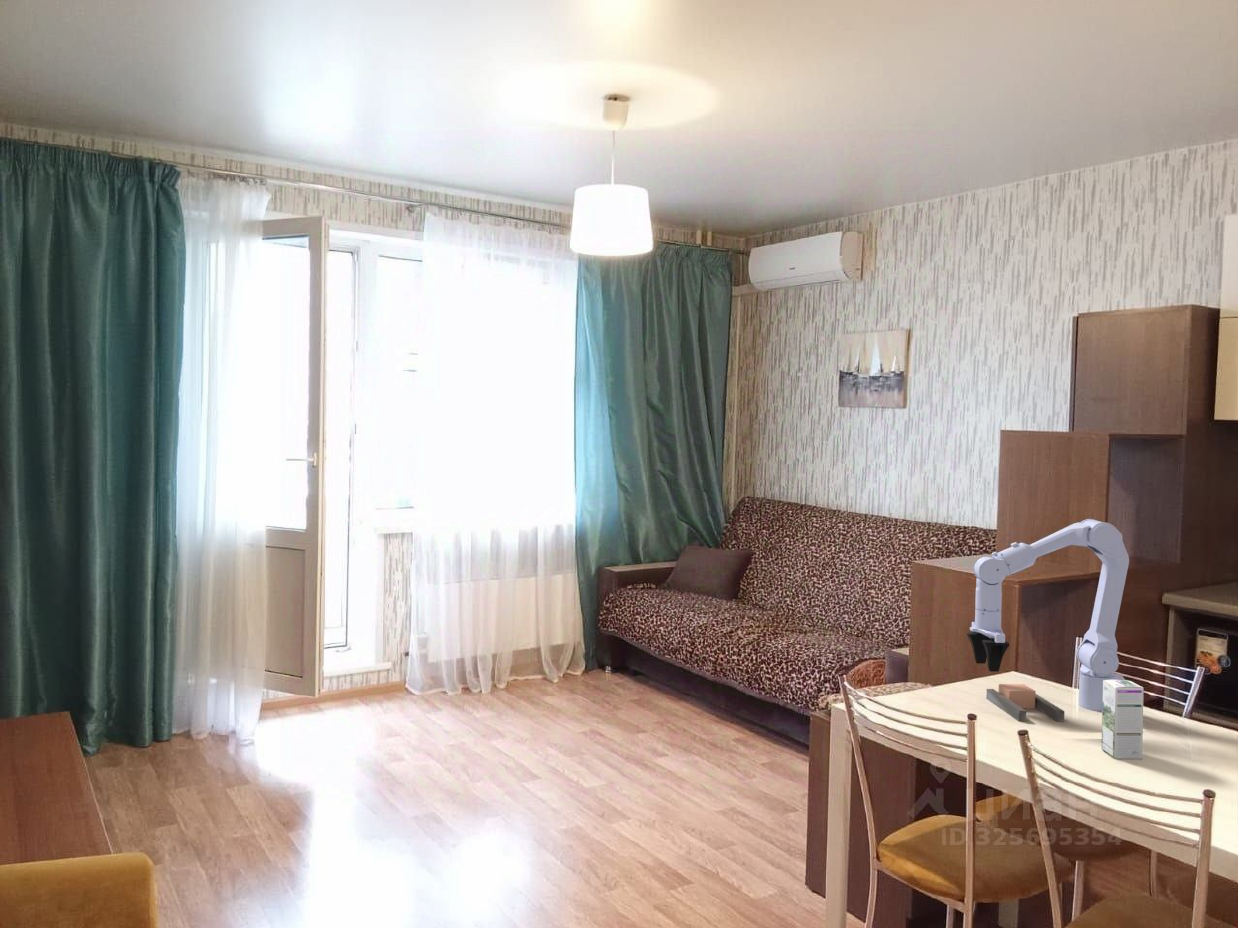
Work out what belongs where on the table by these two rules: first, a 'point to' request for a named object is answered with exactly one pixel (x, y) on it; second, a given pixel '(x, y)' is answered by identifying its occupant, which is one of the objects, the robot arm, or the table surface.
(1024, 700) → the terracotta block
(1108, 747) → the syrup box
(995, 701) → the grey parallel rails
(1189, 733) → the table surface
